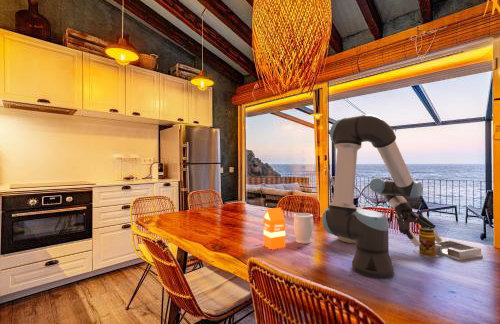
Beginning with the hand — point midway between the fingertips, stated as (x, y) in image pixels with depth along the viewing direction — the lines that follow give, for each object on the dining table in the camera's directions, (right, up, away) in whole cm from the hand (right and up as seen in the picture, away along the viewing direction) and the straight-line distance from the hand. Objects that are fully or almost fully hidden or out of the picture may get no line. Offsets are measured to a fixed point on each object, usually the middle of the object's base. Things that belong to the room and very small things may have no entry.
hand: (429, 243), depth 114 cm
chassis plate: (+13, -5, +2) cm, 14 cm away
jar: (-53, -6, +23) cm, 58 cm away
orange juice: (-70, -7, +16) cm, 72 cm away
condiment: (-1, -5, +1) cm, 6 cm away
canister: (-28, -6, +23) cm, 36 cm away
